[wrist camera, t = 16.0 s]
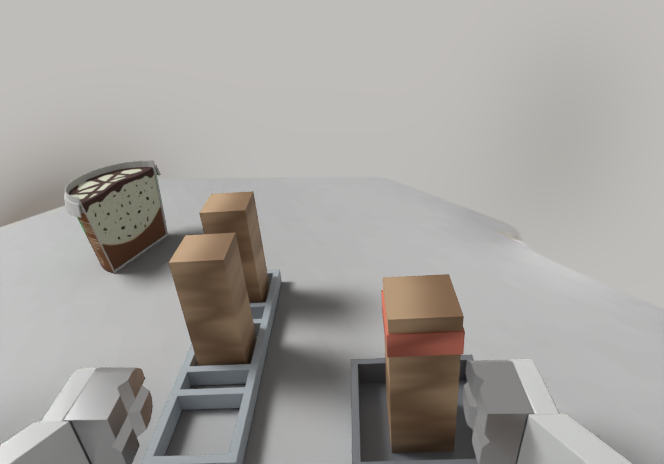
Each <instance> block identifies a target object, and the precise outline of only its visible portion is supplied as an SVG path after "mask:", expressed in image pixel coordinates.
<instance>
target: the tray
mask: <svg viewBox="0 0 664 464" xmlns="http://www.w3.org/2000/svg"><path fill="white" fill-rule="evenodd" d="M468 361H474V359H473V356H472V355H461V359H460V373H459V387H458V402H457V416H456V430H455V444H454V451H448V452H413V453H392V452H391V441H390V431H389V421H388V411H387V394H386V363H385V358H377V359H351V407H352V464H478V462H477V458H476V455H475V451H474V448H473V444H472V436H473V430H472V429H471V428H470V427H469V426H468V425H467V422H466V418H465V413H464V408H463V388H464V385H465V384H466V383H467V382H468V380H467V376H466V373H465V372H466V365H467V363H468Z"/></svg>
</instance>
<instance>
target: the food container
mask: <svg viewBox="0 0 664 464" xmlns="http://www.w3.org/2000/svg"><path fill="white" fill-rule="evenodd" d="M157 175H160V172H159V170H158V168H157V165H155V164H154V161H152V160H140V161H129V162H123V163H117V164H113V165H108V166H105V167H101V168H98V169H95V170H92V171H89V172H87V173H85V174H82V175H80V176H78V177H77V178H75V179H73V180H72V181H71V182H69V183H68V184H67V186H66V187H65V194H64V199H65V207H66V211H67V212H68V213H69V214H70V215H73V216H75V217H77V218H78V220H79V222H80V224H81V226H82V228H83V230H84V232H85V234H86V236H87V238H88V240H89V242H90V244H91V246H92V248H93V250H94V252H95V254H96V256H97V258H98V260H99V262H100V264H101V266H102V267H103V269H105V270H106V271H108V272H111V273H115V272H117V271H118V270H119V269H121V268H122V267H124V266H125V265H127V264H128V263H129V262H131V261H132V260H134V259H135V258H137V257H138V256H139V255H141V254H142V253H144V252H145V251H146V250H148V249H149V248H151V247H152V246H154V245H155V244H156V243H158V242H159V241H161V240H162V239H164V238H165V237H166V236H168V232H167V227H166V221H165V216H164V211H163V206H162V200H161V195H160V190H159V185H158V179H157Z"/></svg>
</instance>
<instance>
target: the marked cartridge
mask: <svg viewBox="0 0 664 464" xmlns="http://www.w3.org/2000/svg"><path fill="white" fill-rule="evenodd" d="M381 291H382V314H383V323H384V332H385V363H386V394H387V411H388V421H389V431H390V441H391V452H392V453H413V452H448V451H454V444H455V430H456V416H457V402H458V387H459V373H460V359H461V354H463V349H464V335H465V331H464V328H463V313H462V311H461V308H460V305H459V302H458V299H457V296H456V293H455V291H454V288H453V285H452V282H451V279H450V276H449V274H446V275H426V276H407V277H387V278H383V290H381Z"/></svg>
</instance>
